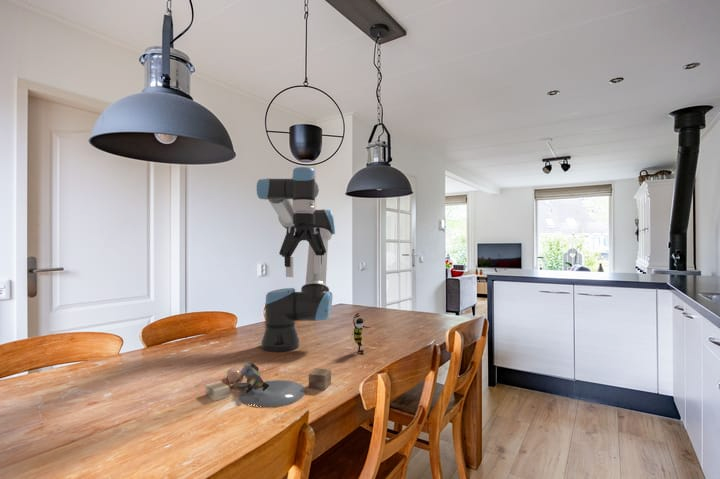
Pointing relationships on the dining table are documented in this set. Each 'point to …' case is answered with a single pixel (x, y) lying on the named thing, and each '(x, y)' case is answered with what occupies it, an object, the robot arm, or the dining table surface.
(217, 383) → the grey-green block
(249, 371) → the toy
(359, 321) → the toy
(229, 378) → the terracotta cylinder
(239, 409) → the dining table surface
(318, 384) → the walnut block
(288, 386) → the plate
